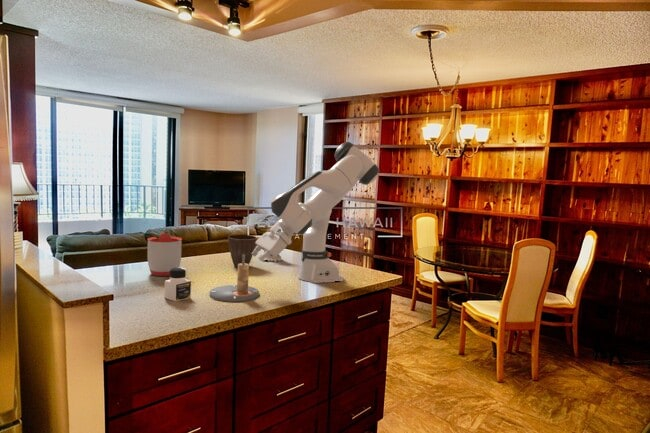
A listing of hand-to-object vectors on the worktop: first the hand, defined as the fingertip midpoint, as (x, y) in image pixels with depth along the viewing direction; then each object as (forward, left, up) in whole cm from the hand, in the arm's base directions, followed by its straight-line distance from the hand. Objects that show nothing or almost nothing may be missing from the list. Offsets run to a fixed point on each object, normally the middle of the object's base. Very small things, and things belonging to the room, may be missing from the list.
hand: (256, 257), depth 174 cm
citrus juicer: (+41, -37, -16) cm, 58 cm away
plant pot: (+4, -52, -16) cm, 54 cm away
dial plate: (+8, -1, -16) cm, 18 cm away
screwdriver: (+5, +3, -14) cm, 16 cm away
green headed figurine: (-13, -70, -16) cm, 73 cm away
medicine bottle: (+30, +3, -16) cm, 35 cm away
